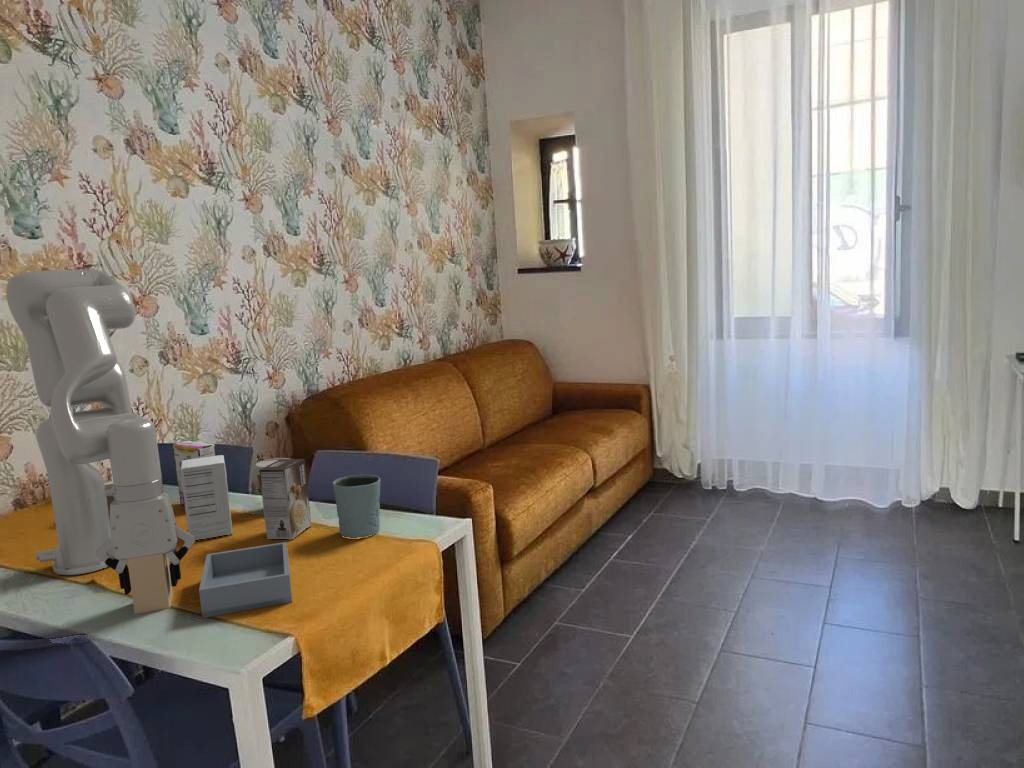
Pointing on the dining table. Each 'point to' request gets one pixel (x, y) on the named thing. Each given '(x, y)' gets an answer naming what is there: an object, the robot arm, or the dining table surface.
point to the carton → (150, 582)
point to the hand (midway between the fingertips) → (152, 586)
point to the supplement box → (206, 497)
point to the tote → (245, 579)
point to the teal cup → (358, 505)
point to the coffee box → (285, 498)
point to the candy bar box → (190, 457)
